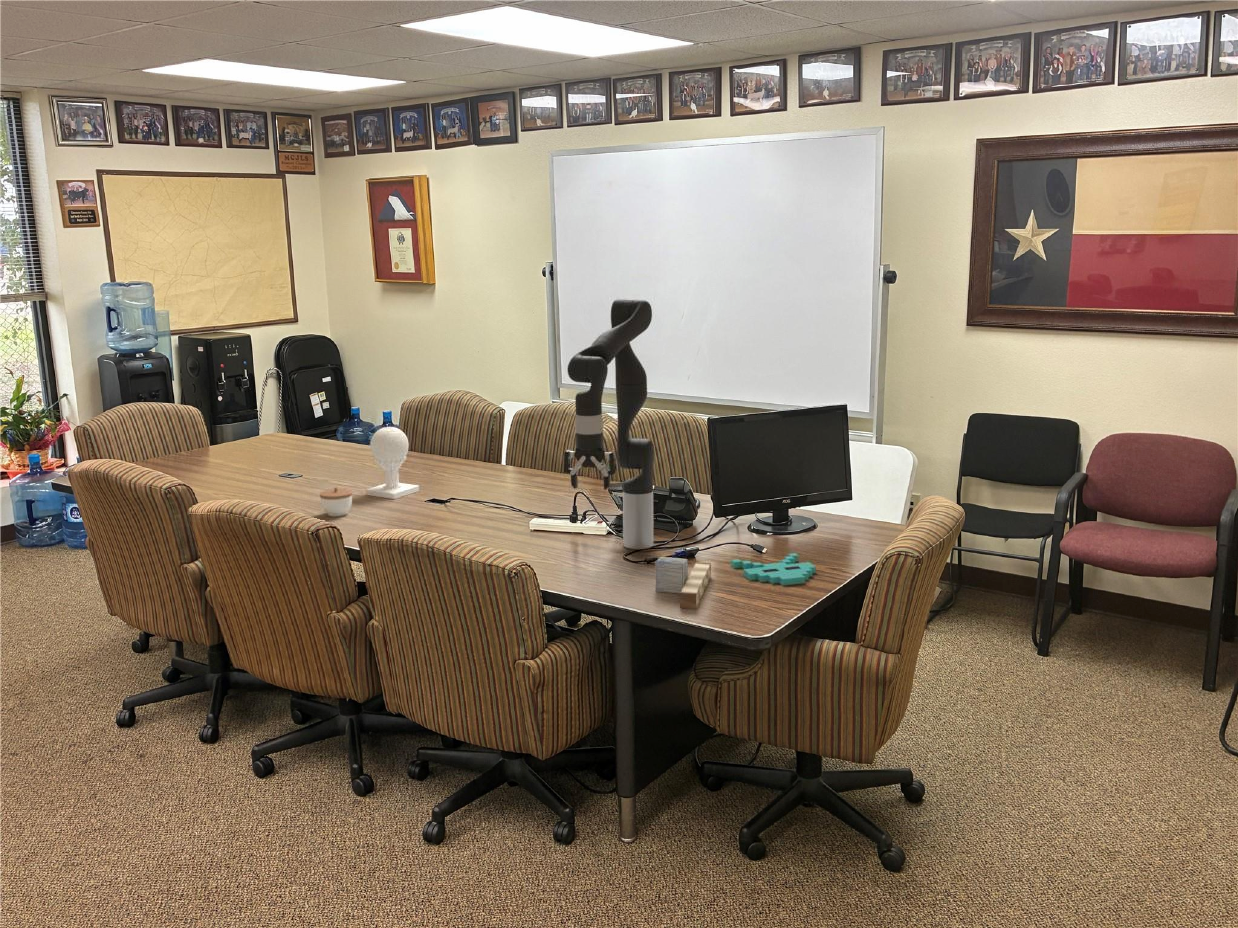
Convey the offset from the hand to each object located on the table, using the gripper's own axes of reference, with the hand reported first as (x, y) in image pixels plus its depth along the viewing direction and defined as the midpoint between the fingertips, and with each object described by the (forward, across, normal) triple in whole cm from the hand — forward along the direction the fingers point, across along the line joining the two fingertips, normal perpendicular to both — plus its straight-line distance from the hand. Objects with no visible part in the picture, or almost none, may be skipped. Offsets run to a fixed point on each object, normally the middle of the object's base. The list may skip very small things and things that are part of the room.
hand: (590, 488), depth 285 cm
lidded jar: (+27, +102, -50) cm, 117 cm away
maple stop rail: (+26, -30, +7) cm, 40 cm away
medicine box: (+26, -23, +7) cm, 36 cm away
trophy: (+28, +96, -81) cm, 128 cm away
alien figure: (+27, -50, -13) cm, 58 cm away
